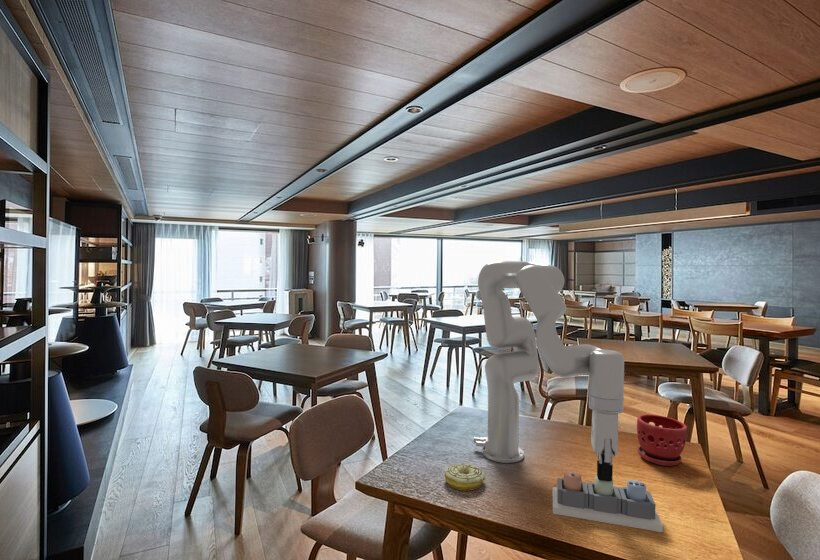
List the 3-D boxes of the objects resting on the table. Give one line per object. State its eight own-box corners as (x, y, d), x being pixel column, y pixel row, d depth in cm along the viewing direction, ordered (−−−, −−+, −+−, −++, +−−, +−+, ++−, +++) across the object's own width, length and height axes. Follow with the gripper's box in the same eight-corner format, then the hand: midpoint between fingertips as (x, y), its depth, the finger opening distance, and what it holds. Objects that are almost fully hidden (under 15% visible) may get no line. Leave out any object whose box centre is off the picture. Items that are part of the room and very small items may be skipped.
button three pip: (628, 508, 100) (628, 486, 99) (625, 499, 103) (625, 478, 103) (647, 511, 98) (648, 489, 98) (643, 502, 102) (644, 480, 102)
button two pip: (595, 503, 102) (595, 481, 102) (593, 494, 106) (594, 473, 105) (613, 506, 101) (614, 484, 100) (611, 497, 104) (611, 476, 104)
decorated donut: (492, 482, 117) (492, 468, 117) (469, 498, 109) (470, 483, 109) (460, 469, 124) (460, 456, 124) (437, 483, 116) (437, 470, 116)
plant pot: (661, 472, 123) (662, 430, 123) (626, 453, 136) (627, 415, 135) (696, 466, 127) (698, 426, 126) (659, 448, 139) (660, 411, 139)
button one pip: (563, 498, 104) (564, 476, 104) (563, 489, 108) (563, 469, 108) (581, 500, 103) (582, 479, 103) (580, 492, 106) (580, 471, 106)
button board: (552, 513, 102) (553, 492, 102) (552, 492, 111) (552, 473, 111) (662, 532, 95) (663, 510, 95) (652, 508, 104) (652, 488, 104)
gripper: (586, 392, 111) (585, 463, 111) (591, 410, 96) (590, 491, 97) (618, 395, 108) (617, 467, 109) (628, 414, 94) (627, 497, 95)
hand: (604, 478), depth 103 cm, fingers closed
